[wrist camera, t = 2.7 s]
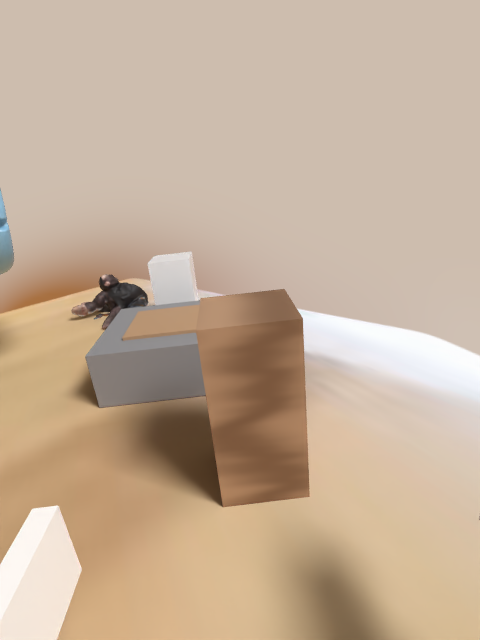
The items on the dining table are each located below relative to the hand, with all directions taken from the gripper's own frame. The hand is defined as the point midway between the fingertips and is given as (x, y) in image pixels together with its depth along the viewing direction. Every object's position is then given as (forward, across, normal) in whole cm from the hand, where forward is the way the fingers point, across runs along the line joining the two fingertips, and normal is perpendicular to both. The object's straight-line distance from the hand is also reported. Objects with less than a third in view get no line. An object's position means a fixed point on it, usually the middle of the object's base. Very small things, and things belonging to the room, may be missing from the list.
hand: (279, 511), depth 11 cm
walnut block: (+10, 0, -8) cm, 12 cm away
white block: (+38, -8, -7) cm, 40 cm away
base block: (+25, -7, -7) cm, 27 cm away
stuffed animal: (+47, -19, -8) cm, 51 cm away
